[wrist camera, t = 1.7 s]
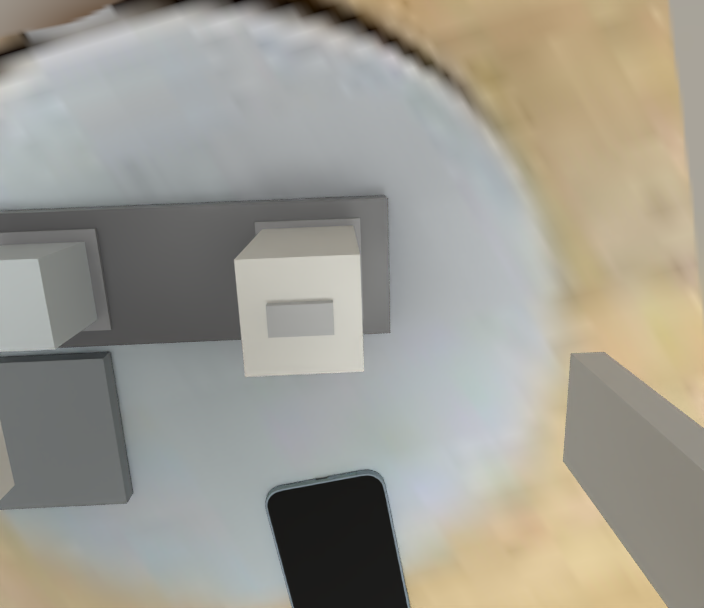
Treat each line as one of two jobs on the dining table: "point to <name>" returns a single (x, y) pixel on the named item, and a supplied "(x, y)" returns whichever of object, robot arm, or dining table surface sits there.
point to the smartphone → (337, 542)
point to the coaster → (63, 431)
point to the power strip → (193, 261)
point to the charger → (300, 302)
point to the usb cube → (44, 295)
